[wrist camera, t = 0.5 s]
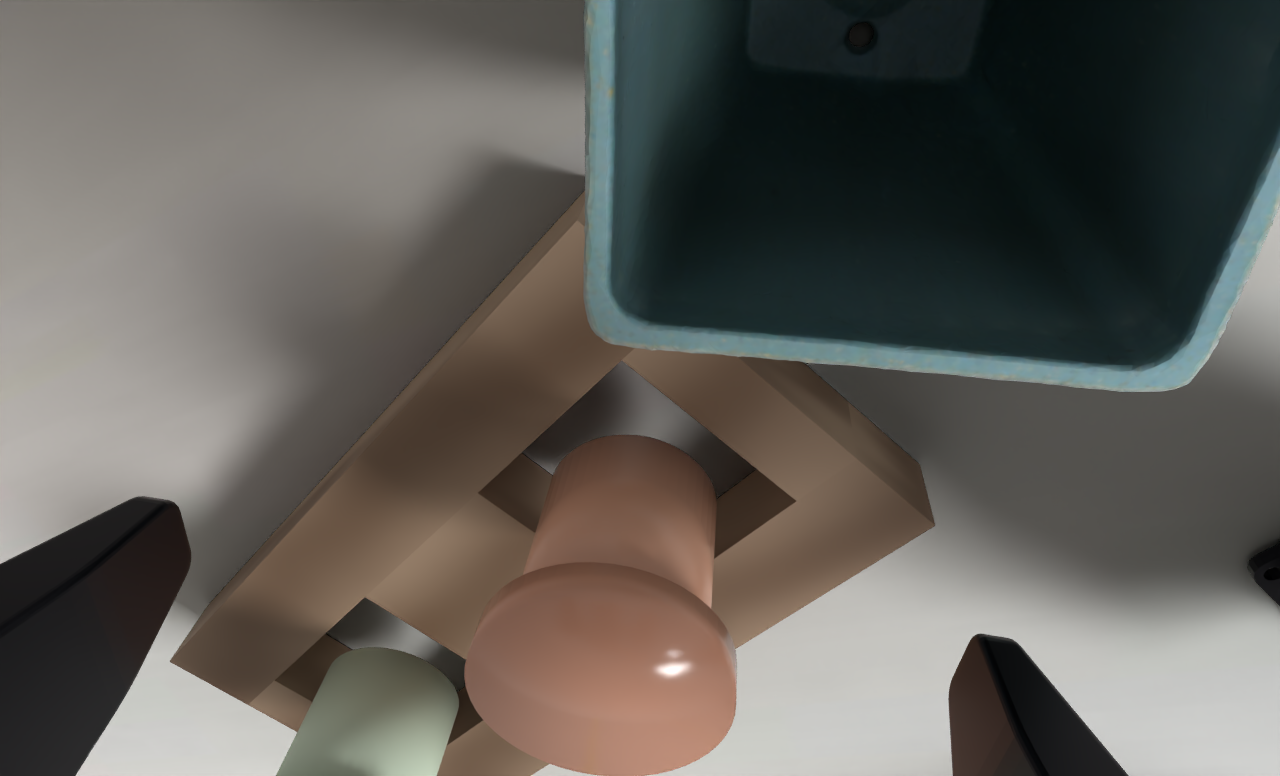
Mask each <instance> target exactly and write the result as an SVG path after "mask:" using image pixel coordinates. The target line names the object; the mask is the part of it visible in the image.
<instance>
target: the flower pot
mask: <svg viewBox="0 0 1280 776" xmlns="http://www.w3.org/2000/svg"><path fill="white" fill-rule="evenodd" d="M584 1H585V6H584V15H583V21H584V47H585V113H586V114H585V135H586V138H585V171H586V172H585V227H584V232H585V247H584V264H583V270H584V285H583V297H584V304H585V310H586V314H587V319H588V322H589V325H590V327H591V329H592V330H593V332H594V333H595V334H596V335H597V336H599V337H601V338H602V339H603V340H604V341H605V342H608V343H610V344H614V345H621V346H627V347H632V348H640V349H647V350H651V351H653V350H665V351H681V352H687V353H699V354H721V355H727V356H737V357H742V356H744V357H757V358H767V359H775V360H788V361H800V362H805V363H818V364H831V365H851V366H860V367H867V368H880V369H893V370H903V371H907V372H922V373H940V374H949V375H959V376H964V377H975V378H984V379H992V380H1003V381H1020V382H1031V383H1042V384H1051V385H1062V386H1069V387H1075V388H1087V389H1105V390H1110V391H1118V392H1161V391H1168V390H1174V389H1177V388H1180V387H1182V386H1185V385H1187V384H1189V383H1190V382H1191V380H1192V379H1193V378H1194V377H1195V375H1196V374H1197V373H1198V372H1199V370H1200V369H1201V368H1202V367H1203V365H1204V364H1205V363H1206V362H1207V361H1208V359H1209V357H1210V356H1211V354H1212V352H1213V350H1214V349H1215V348H1216V346H1217V345H1218V342H1219V339H1220V338H1221V336H1222V334H1223V332H1224V331H1225V329H1226V324H1227V322H1228V321H1229V319H1230V318H1231V315H1232V312H1233V310H1234V307H1235V305H1236V303H1237V302H1238V300H1239V297H1240V295H1241V293H1242V290H1243V287H1244V285H1245V284H1246V282H1247V280H1248V279H1249V276H1250V273H1251V271H1252V268H1253V266H1254V264H1255V262H1256V259H1257V257H1258V255H1259V253H1260V251H1261V248H1262V245H1263V243H1264V241H1265V239H1266V237H1267V235H1268V232H1269V230H1270V227H1271V226H1272V224H1273V219H1274V217H1275V215H1276V213H1277V211H1278V209H1279V207H1280V0H584ZM862 22H865V23H868V24H870V26H871V27H872V28H873V30H874V36H873V39H872V41H871V42H870V43H869V44H868V45H866V46H864V47H856V46H853V45H852V44H851V43H850V41H849V32H850V30H851V28H852V27H853V26H854V25H856V24H858V23H862Z"/></svg>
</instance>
